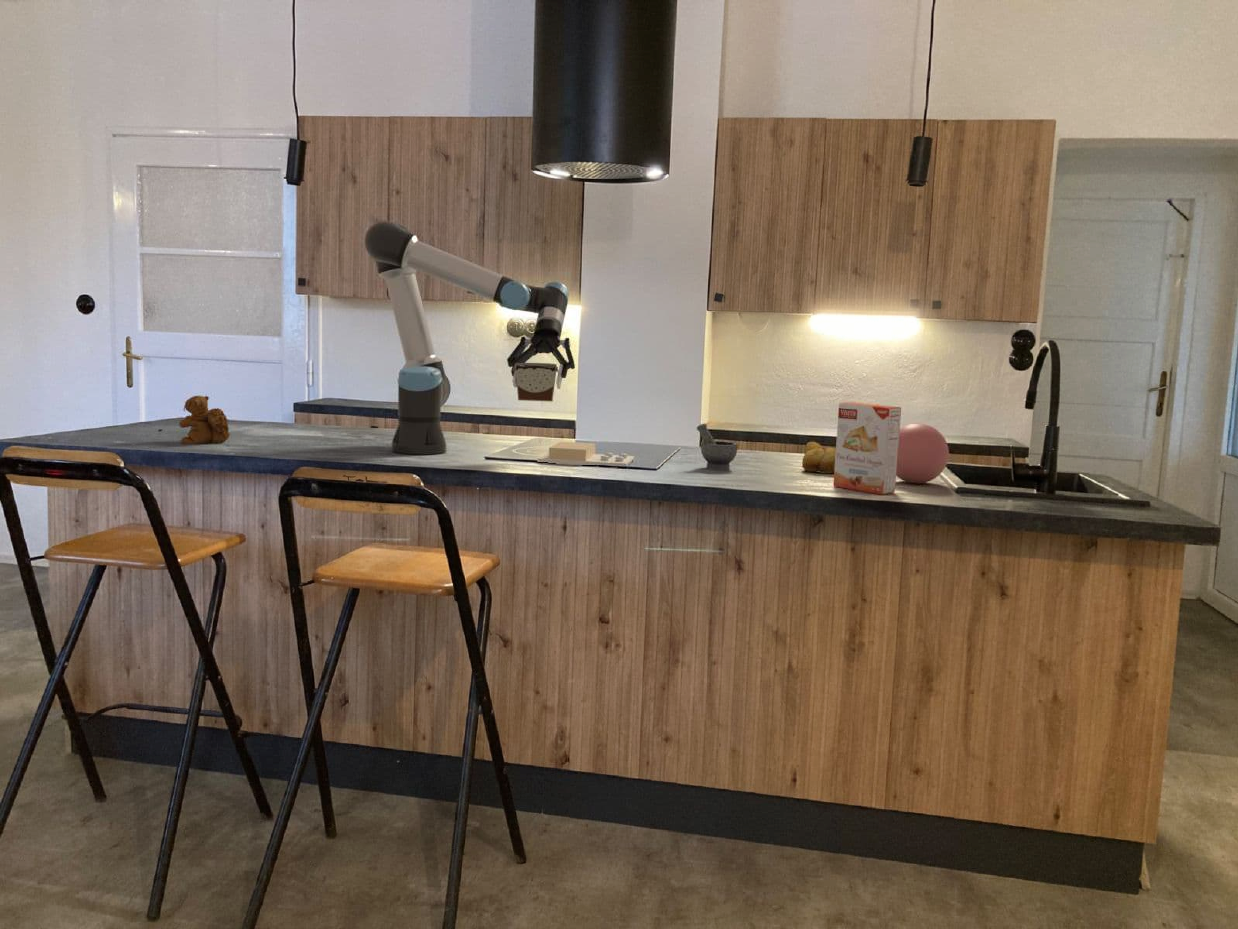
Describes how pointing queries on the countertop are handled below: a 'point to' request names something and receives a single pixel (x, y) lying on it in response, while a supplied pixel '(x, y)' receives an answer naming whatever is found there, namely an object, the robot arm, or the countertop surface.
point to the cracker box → (867, 447)
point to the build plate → (589, 462)
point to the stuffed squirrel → (204, 422)
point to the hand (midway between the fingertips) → (536, 384)
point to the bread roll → (819, 458)
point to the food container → (535, 381)
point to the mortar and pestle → (716, 450)
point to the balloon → (921, 453)
